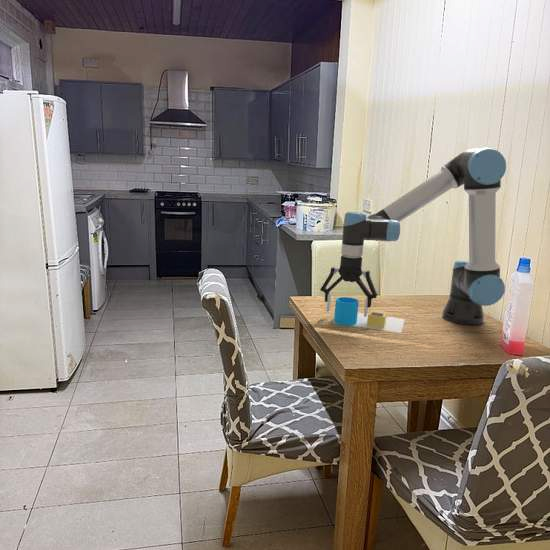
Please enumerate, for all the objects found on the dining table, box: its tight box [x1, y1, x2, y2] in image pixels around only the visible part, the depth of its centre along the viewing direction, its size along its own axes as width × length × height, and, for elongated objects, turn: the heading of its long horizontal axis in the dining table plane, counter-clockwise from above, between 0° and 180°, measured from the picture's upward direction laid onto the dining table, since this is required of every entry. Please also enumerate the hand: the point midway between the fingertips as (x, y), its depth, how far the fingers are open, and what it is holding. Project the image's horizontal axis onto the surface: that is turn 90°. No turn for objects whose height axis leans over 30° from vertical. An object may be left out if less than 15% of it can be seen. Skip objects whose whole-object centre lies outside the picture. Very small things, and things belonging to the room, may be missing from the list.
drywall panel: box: [332, 312, 405, 334], centre depth 186 cm, size 30×17×1 cm, turn 72°
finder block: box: [367, 310, 388, 328], centre depth 182 cm, size 6×6×4 cm
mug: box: [333, 296, 360, 327], centre depth 184 cm, size 12×8×8 cm
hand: (346, 313), depth 184 cm, fingers open, 13 cm apart
